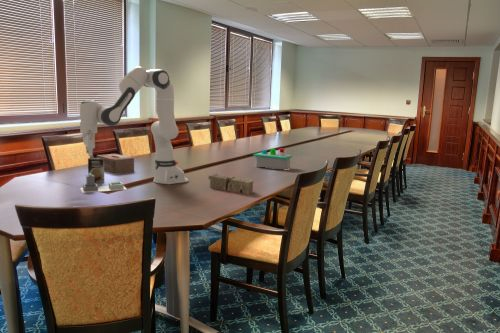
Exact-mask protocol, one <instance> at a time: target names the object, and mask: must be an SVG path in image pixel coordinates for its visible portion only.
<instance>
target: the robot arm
mask: <svg viewBox="0 0 500 333" xmlns="http://www.w3.org/2000/svg"><path fill="white" fill-rule="evenodd" d="M142 87H147V88H154V89H155V92H156V95H155V96H156V98H155V99H156V100H155V101H156V102H155V111H156V114H157V118H158V120H157V121H154V122H153V123H151V126H150V131H151V133H152V137H153V141H154V146H155V161H154V168H155V172H154V177H153V182H154V183H156V184H164V185H172V184H174V185H175V184H181V183H188V182H189V179H188V178H187V177H186V176H185V172H184V170H182V168H180V167H179V166H177V165H178V164H179V162H178V161H177V160H175V159H174V147H173V145H172V142H171V140H174V139H176V138H177V137H178V136H179V131H180V130H179V127H178V126H177V123H176V118H175V90H174V85H173V84H172V83H171V81H170V75H169V74H168V72H167V71H166V70H164V69H161V68H160V69H159V68H157V69H156V68H152V69H145V68H144V67H142V66H136V67H134V68H132V69H131V70H130V71H129V72H127V74H126V75H125V76H123V78H122V79H121V81H120V82H119V84H118V88H119V91H120V93H121V95H119V97H118V98H117V100H116V101H115V103H114V104H113V105H111V106H105V105H102V104H100V103H98V102H97V101H96V100H93V99H86V100H83V101H82V102H81V103H80V106H79V118H80V121H79V122H80V123H79V129H80V130H79V133H80V134H82V142H83V145H84V146H85V149H86V151H85V152H86V154H88V157H93V150H94V149H96V141H95V140H96V139H95V136H96V134H98V123H99V124H103V125H106V126H110V127H114V126H116V125H118V124H119V123H120V121H121V120H122V116H123V114H124V112H125V111H126V109H127V108H128V106H129V105H130V104H131V102H132V101H133V99H134V97H135V96H136V95H137V93H139V91H140V90H141V89H142Z"/></svg>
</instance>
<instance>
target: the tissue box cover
mask: <svg viewBox="0 0 500 333" xmlns="http://www.w3.org/2000/svg"><path fill="white" fill-rule="evenodd" d="M96 158H104V172H105V171H106V172H109V173H111V174H115V175H117V174H118V173H119V174H126V173H130V172H135V158H134V157H131V156H128V155H127V156H126V155H123V154H119V153H118V154H117V153H110V154H109V153H107V154H96ZM119 174H118V175H119Z"/></svg>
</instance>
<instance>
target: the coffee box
mask: <svg viewBox="0 0 500 333" xmlns="http://www.w3.org/2000/svg"><path fill="white" fill-rule="evenodd" d="M87 165H88V166H87V169H88V170H87V171H88V173H87V175H89V174H92V175H94V176H95V184H100V183H101V184H104V183H105V170H104V158H97V157H88V158H87Z"/></svg>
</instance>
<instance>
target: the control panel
mask: <svg viewBox="0 0 500 333" xmlns="http://www.w3.org/2000/svg"><path fill="white" fill-rule="evenodd" d="M285 151H286V148H285V147H283V148H282V147H280V148H279V151H278V153H277V151H276V148H271V149H270V150H269V152H267V149H262V151H261V152H258V153H253V157H255V162H254V163H255V164H254V167H255V166H256V167H255V168H260V167H265V168H264V169H269V168H274V169H273V170H277V169H288V168H290V166H291V165H290V164H291V158H293V155H292V154H285Z"/></svg>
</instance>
